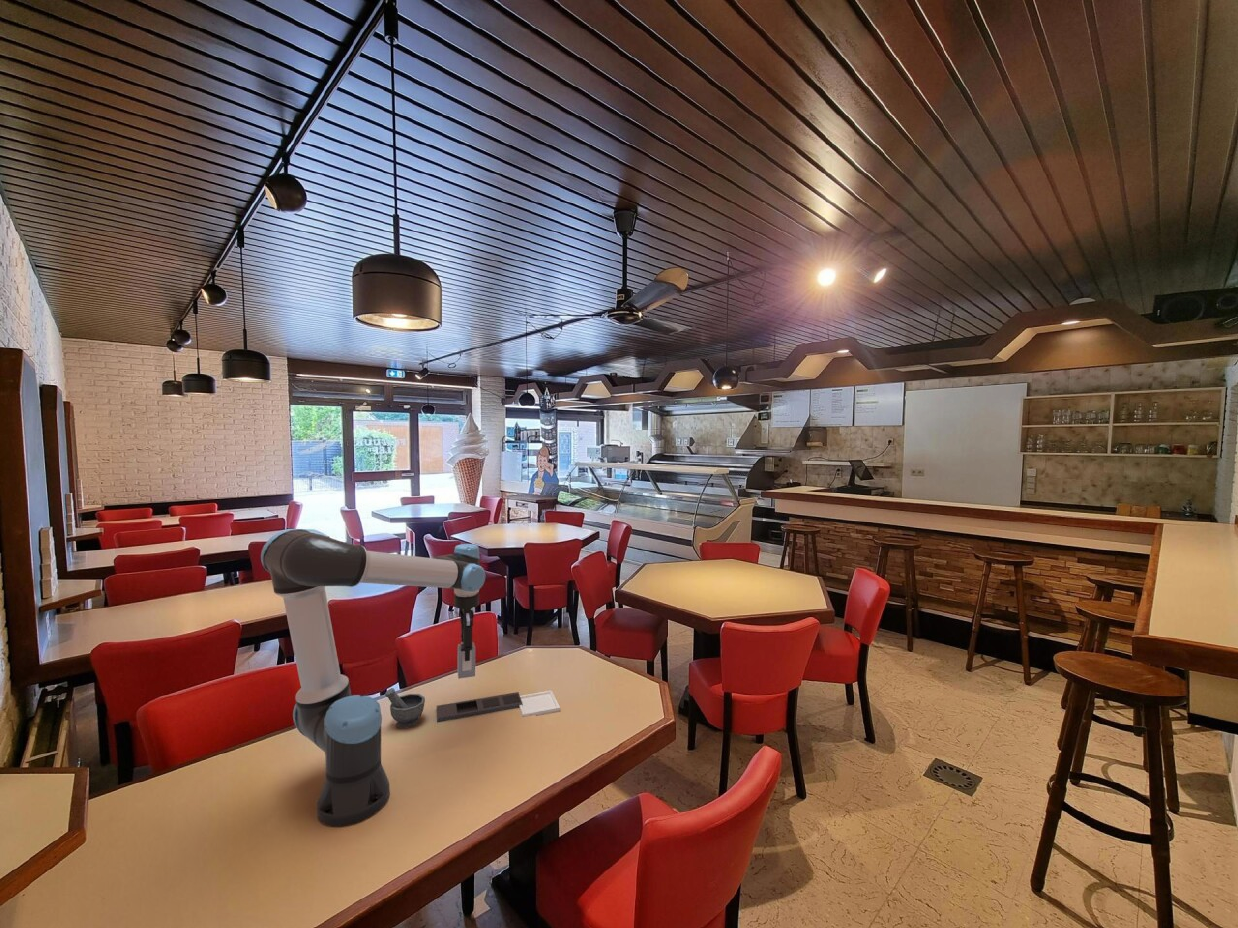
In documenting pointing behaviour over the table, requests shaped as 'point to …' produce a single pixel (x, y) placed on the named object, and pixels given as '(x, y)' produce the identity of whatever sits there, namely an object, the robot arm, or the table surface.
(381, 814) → the table surface
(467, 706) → the rack rail
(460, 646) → the gray rectangular block
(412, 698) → the mortar and pestle
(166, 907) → the table surface
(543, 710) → the parts tray
